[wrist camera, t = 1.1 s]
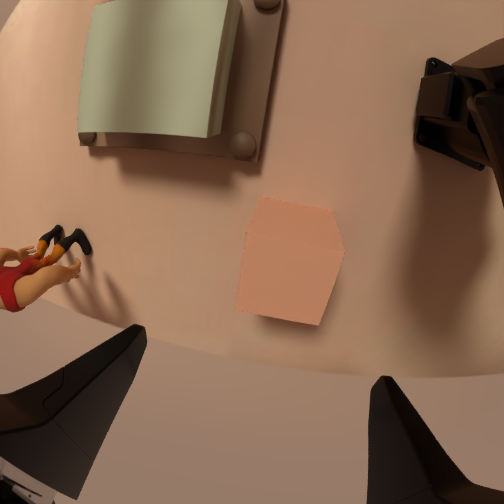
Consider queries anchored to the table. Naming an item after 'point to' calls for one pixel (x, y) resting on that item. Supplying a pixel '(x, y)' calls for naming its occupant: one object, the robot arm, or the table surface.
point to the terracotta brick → (289, 261)
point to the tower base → (238, 98)
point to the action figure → (37, 269)
